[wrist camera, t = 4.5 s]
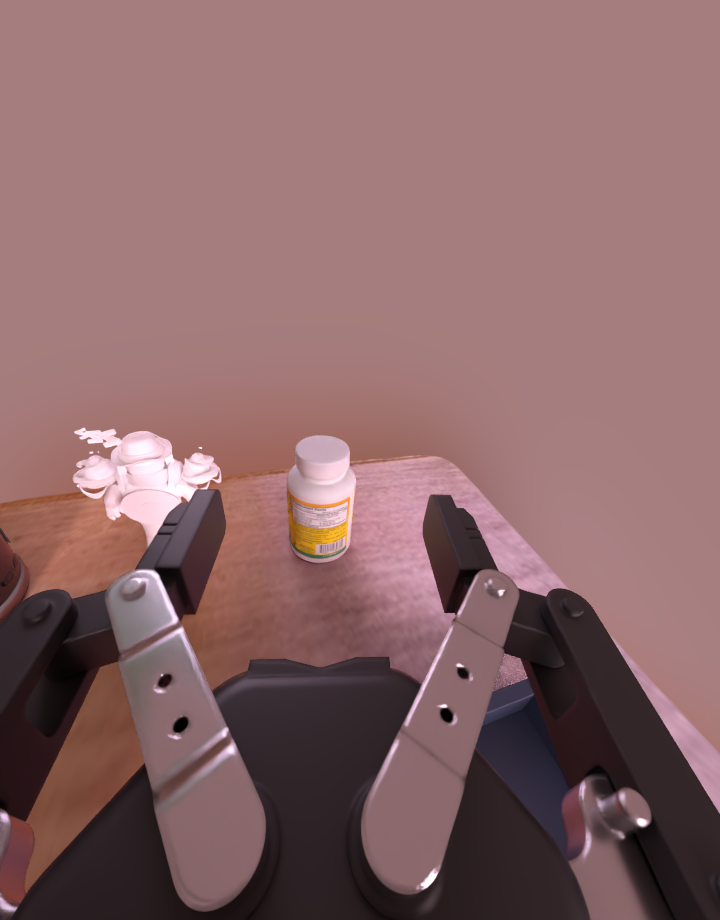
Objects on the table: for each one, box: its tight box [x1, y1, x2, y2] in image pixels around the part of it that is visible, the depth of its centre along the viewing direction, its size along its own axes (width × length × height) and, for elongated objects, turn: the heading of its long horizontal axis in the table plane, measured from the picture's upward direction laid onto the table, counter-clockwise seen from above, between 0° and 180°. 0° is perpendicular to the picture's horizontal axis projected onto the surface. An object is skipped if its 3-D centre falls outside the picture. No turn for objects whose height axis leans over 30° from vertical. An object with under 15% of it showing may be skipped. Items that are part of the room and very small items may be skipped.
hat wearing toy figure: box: [72, 428, 221, 548], centre depth 25 cm, size 9×4×12 cm, turn 100°
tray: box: [475, 679, 569, 855], centre depth 14 cm, size 12×12×3 cm
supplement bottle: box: [287, 435, 356, 563], centre depth 28 cm, size 5×5×10 cm
